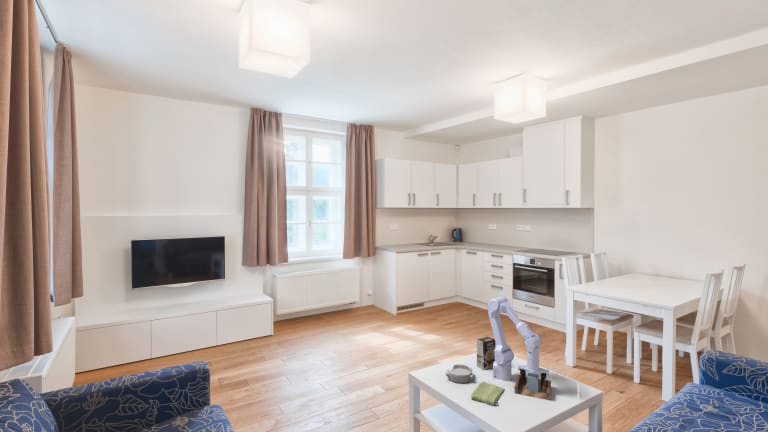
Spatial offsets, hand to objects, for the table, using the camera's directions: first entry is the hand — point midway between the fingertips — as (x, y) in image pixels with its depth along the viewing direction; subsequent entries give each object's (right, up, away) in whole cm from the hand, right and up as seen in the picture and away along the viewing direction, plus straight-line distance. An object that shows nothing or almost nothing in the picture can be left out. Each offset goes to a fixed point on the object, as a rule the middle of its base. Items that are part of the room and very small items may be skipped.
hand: (533, 386), depth 189 cm
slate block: (0, -2, 0) cm, 2 cm away
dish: (-34, -3, +16) cm, 37 cm away
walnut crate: (0, -3, -1) cm, 3 cm away
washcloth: (-24, -4, -3) cm, 24 cm away
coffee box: (-16, -2, +29) cm, 33 cm away
